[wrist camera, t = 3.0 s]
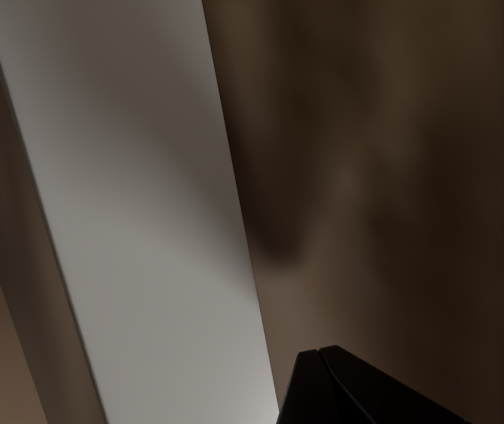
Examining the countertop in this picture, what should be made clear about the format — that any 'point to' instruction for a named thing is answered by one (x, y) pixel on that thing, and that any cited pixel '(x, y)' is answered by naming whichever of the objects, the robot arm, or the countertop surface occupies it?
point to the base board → (140, 205)
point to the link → (34, 309)
